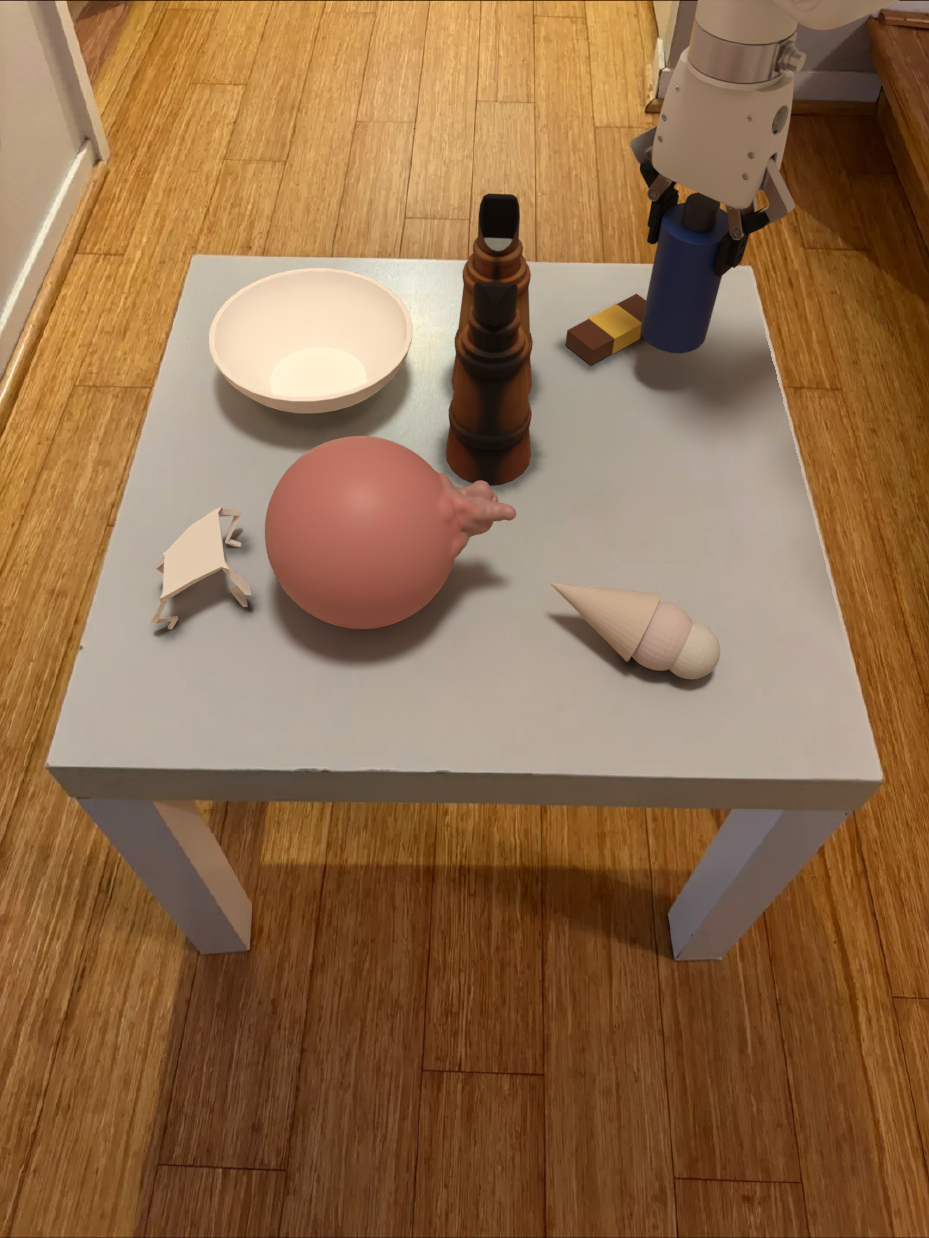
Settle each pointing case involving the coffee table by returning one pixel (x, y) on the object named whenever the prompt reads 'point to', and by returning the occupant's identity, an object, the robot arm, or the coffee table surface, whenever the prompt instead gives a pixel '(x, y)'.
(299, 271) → the bowl
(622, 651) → the ice cream cone
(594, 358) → the chocolate bar
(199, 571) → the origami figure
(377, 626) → the balloon
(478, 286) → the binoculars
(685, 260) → the water bottle
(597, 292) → the coffee table surface
